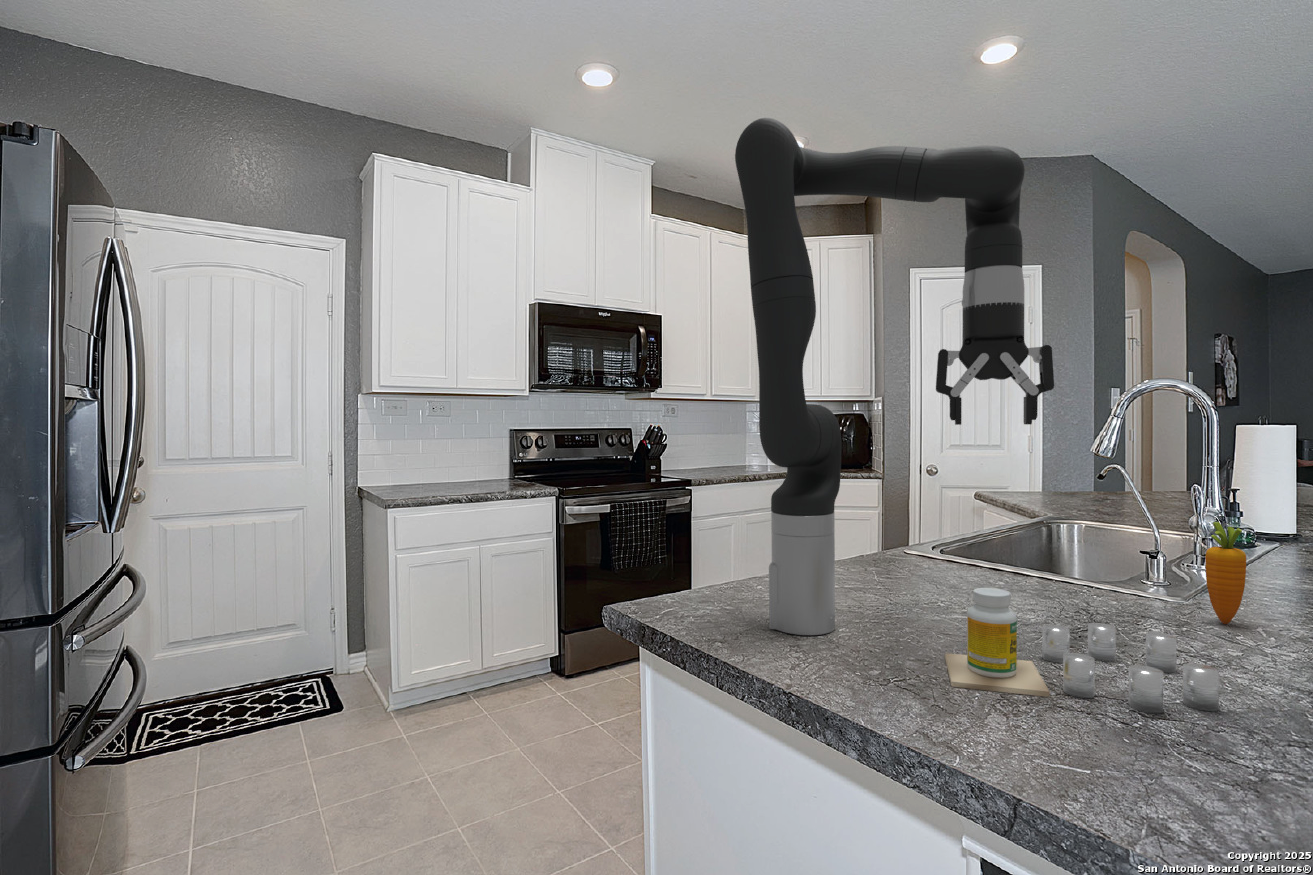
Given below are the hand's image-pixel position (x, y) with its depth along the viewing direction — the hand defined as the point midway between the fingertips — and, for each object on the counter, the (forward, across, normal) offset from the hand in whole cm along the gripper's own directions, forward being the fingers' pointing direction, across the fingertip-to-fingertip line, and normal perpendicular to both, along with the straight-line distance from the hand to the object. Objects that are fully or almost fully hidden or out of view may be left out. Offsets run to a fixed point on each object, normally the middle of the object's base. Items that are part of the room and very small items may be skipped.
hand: (992, 424), depth 92 cm
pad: (+30, -1, -13) cm, 33 cm away
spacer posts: (+30, +13, -10) cm, 34 cm away
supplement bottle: (+30, -1, -13) cm, 32 cm away
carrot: (+30, +33, +20) cm, 49 cm away
